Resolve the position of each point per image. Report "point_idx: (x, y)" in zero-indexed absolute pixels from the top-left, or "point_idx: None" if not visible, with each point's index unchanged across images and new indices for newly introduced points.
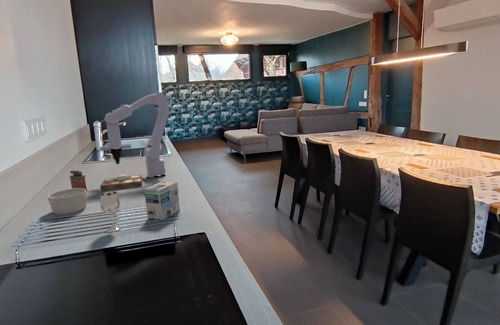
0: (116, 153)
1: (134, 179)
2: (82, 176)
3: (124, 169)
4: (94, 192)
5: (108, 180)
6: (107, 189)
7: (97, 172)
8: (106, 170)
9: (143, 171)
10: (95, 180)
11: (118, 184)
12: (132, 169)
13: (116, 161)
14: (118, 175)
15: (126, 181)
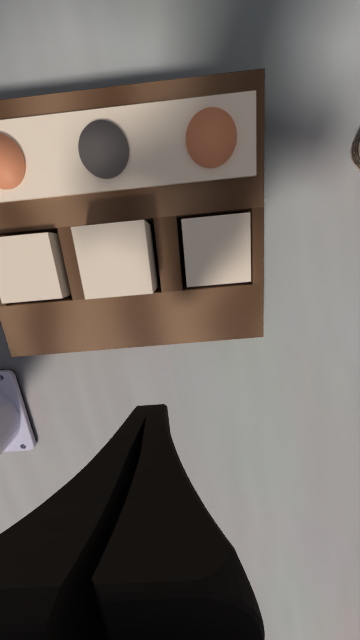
0: (95, 526)
1: (8, 185)
2: None
3: None
4: (296, 85)
5: (219, 218)
6: None
7: (328, 590)
8: (287, 610)
9: None
10: (323, 432)
11: (117, 88)
12: None
13: (155, 419)
14: (147, 279)
15: (64, 148)
